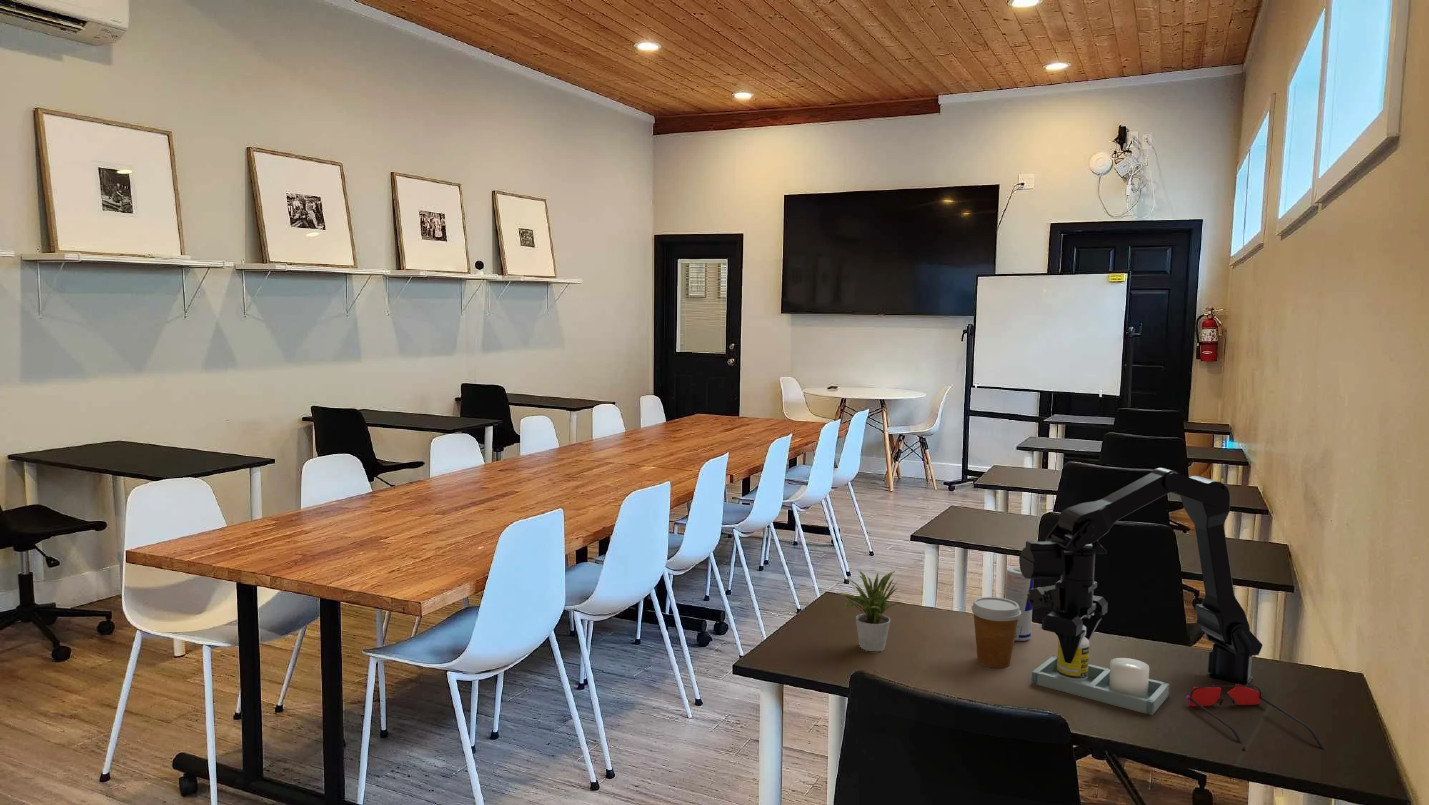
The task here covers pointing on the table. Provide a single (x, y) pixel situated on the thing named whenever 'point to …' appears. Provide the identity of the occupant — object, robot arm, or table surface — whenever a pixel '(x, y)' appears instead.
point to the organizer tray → (1100, 687)
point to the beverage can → (1020, 600)
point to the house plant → (872, 612)
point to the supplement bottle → (1075, 662)
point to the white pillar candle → (1129, 677)
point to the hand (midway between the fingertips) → (1073, 658)
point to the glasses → (1240, 695)
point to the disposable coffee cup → (995, 630)
